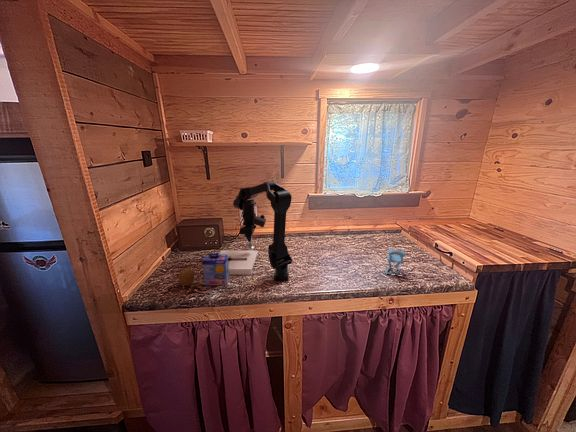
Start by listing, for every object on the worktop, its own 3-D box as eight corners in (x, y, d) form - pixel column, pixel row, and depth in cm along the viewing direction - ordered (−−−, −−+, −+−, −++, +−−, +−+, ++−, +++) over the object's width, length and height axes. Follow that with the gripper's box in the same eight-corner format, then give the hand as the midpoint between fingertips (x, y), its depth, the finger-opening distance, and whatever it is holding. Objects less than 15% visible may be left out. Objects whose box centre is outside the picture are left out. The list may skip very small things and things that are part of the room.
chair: (401, 268, 111) (405, 246, 108) (403, 277, 103) (407, 253, 100) (384, 266, 113) (387, 243, 110) (385, 274, 106) (388, 250, 103)
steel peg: (254, 250, 118) (253, 233, 115) (245, 249, 118) (244, 233, 115) (255, 246, 122) (254, 230, 119) (247, 246, 122) (246, 230, 119)
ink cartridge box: (204, 286, 97) (200, 255, 93) (207, 279, 103) (204, 249, 99) (227, 285, 98) (224, 254, 94) (229, 278, 103) (227, 248, 99)
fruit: (197, 281, 101) (195, 265, 99) (191, 289, 95) (189, 272, 93) (184, 281, 101) (181, 264, 99) (176, 289, 95) (174, 272, 93)
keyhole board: (251, 274, 106) (251, 269, 105) (208, 274, 106) (208, 268, 106) (258, 255, 125) (257, 250, 124) (221, 255, 126) (221, 250, 125)
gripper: (262, 217, 105) (263, 248, 110) (266, 207, 123) (267, 234, 127) (238, 217, 105) (240, 248, 110) (246, 207, 123) (247, 234, 128)
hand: (250, 241), depth 119 cm, fingers closed on steel peg, 2 cm apart
